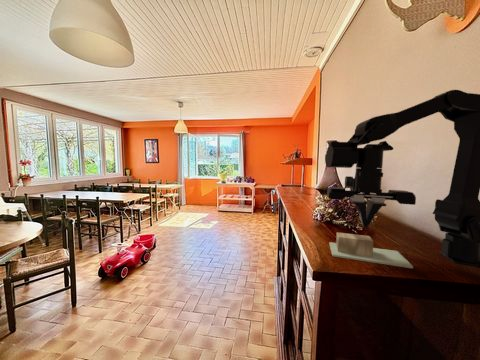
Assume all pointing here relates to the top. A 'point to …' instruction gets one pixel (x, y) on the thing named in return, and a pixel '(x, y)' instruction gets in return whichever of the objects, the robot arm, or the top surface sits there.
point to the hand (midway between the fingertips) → (364, 227)
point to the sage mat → (374, 256)
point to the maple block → (354, 244)
